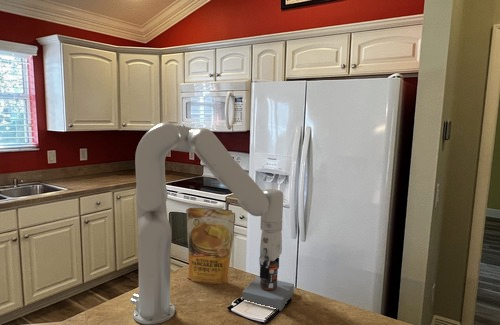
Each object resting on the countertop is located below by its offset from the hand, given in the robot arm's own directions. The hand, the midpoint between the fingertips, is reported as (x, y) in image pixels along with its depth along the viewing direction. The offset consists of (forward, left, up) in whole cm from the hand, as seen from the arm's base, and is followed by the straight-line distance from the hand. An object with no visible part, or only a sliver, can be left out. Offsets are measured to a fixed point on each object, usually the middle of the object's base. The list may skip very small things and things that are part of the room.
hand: (269, 273), depth 118 cm
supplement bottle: (0, 0, -6) cm, 6 cm away
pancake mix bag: (-26, +2, -9) cm, 28 cm away
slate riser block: (0, 0, -9) cm, 9 cm away
